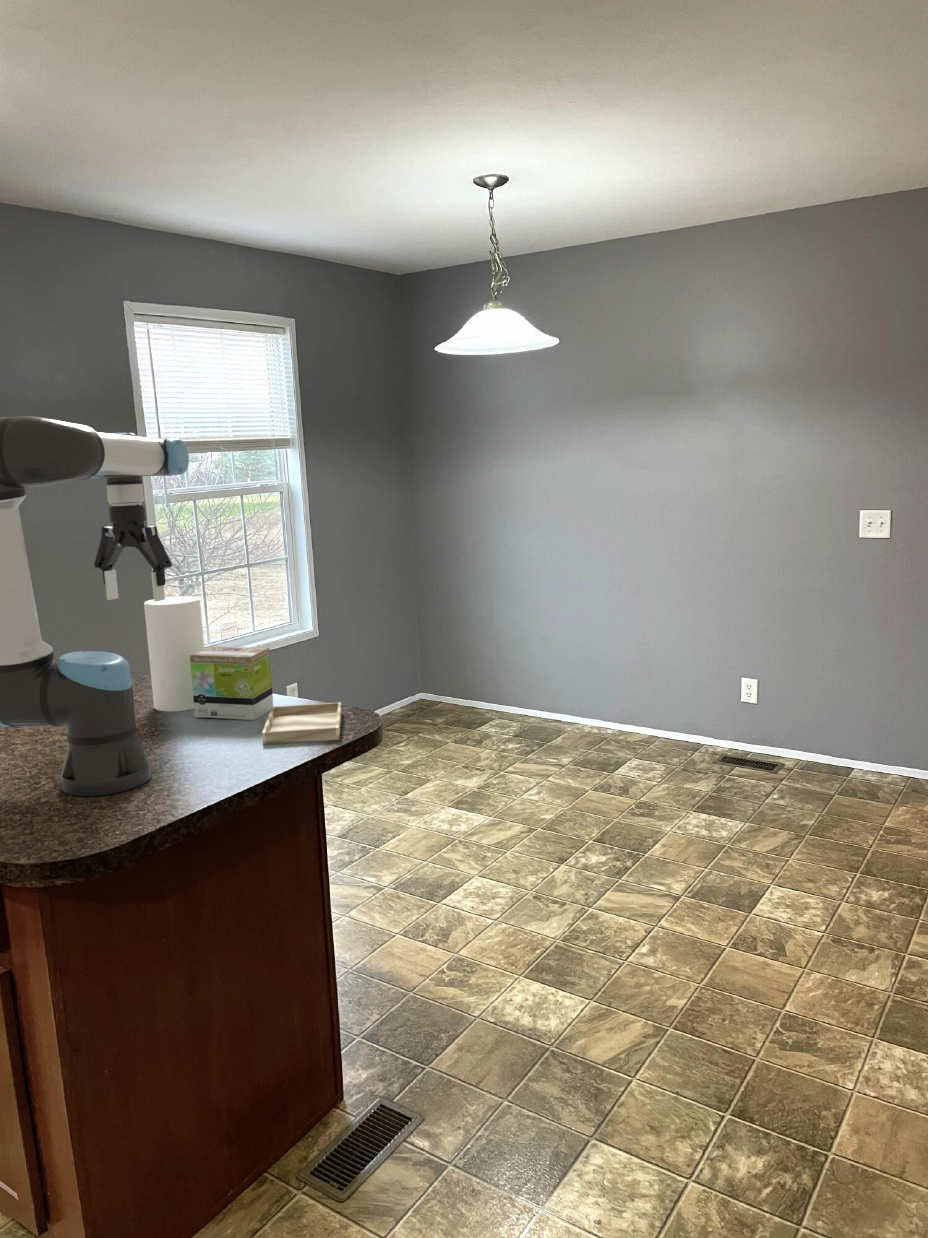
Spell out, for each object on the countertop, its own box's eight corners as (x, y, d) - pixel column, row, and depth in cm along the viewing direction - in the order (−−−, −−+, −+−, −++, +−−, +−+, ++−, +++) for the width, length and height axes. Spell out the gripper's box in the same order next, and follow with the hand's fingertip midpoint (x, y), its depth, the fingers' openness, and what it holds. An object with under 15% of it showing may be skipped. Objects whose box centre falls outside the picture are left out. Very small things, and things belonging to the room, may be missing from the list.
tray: (339, 739, 188) (338, 727, 187) (262, 744, 186) (262, 732, 186) (341, 713, 208) (341, 702, 207) (272, 717, 206) (271, 706, 206)
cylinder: (215, 696, 227) (206, 595, 223) (199, 710, 215) (190, 603, 210) (164, 698, 227) (154, 597, 223) (146, 712, 215) (135, 605, 211)
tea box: (193, 719, 208) (187, 654, 205) (215, 707, 217) (210, 645, 215) (255, 721, 204) (250, 655, 201) (275, 709, 213) (270, 645, 211)
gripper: (182, 502, 203) (191, 598, 207) (97, 504, 214) (106, 596, 217) (158, 504, 197) (167, 603, 200) (71, 506, 207) (81, 600, 210)
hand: (135, 600), depth 209 cm, fingers open, 13 cm apart
